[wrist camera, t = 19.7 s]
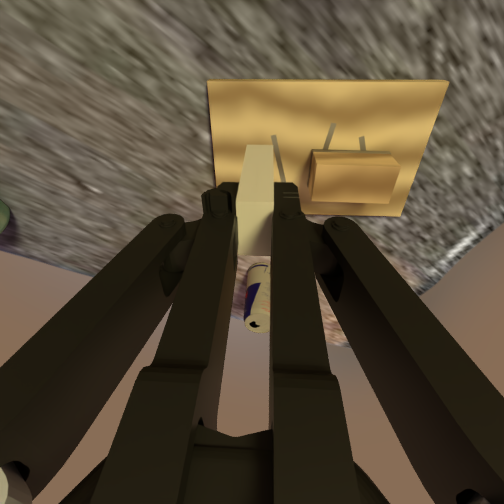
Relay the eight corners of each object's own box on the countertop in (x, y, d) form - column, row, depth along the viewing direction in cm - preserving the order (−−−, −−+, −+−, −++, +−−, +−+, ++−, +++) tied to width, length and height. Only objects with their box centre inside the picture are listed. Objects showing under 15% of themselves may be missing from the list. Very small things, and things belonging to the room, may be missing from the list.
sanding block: (311, 148, 39) (316, 163, 35) (389, 151, 39) (402, 166, 35) (306, 184, 42) (310, 201, 38) (378, 187, 42) (389, 204, 38)
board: (209, 79, 36) (207, 81, 35) (443, 79, 35) (449, 82, 33) (220, 207, 47) (218, 212, 46) (396, 211, 46) (400, 216, 45)
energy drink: (242, 270, 56) (236, 321, 46) (264, 257, 53) (262, 308, 44) (259, 286, 58) (257, 337, 49) (281, 274, 56) (283, 326, 46)
